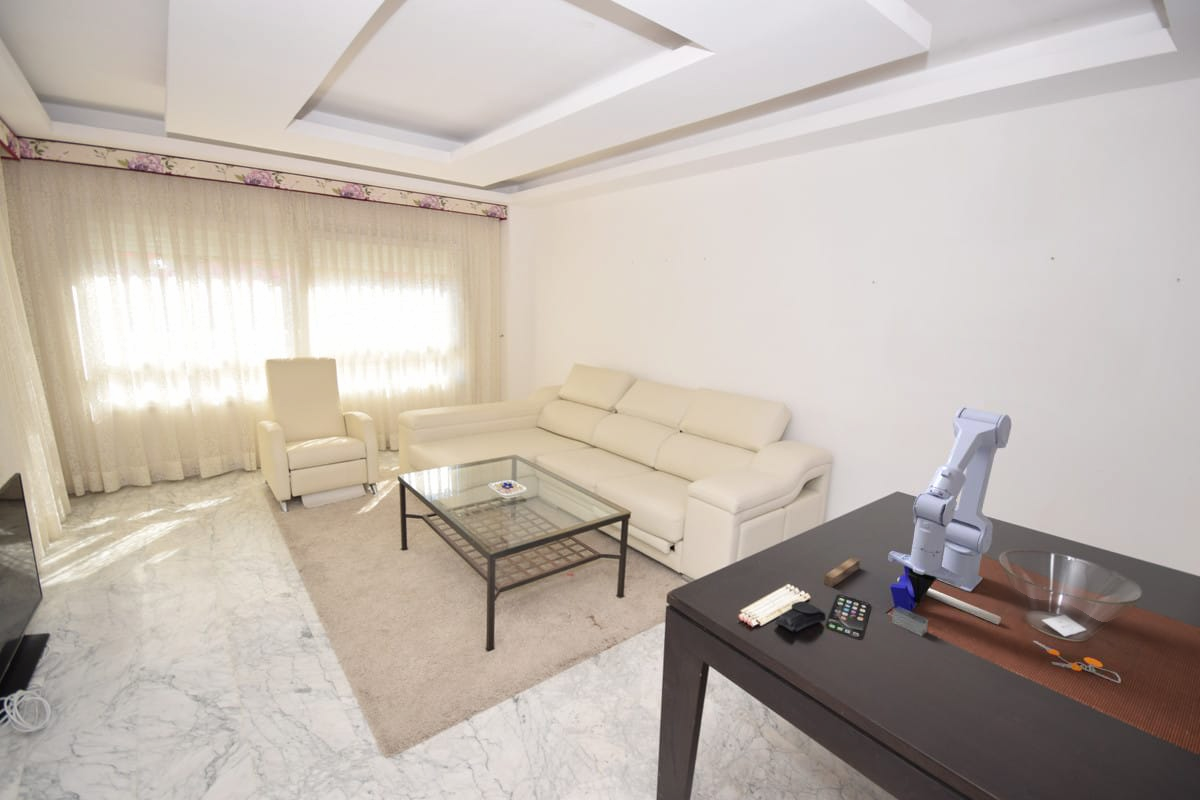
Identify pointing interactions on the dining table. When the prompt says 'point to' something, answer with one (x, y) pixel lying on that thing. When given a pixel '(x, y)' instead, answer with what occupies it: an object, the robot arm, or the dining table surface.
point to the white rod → (963, 606)
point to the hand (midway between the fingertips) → (918, 601)
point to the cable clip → (903, 592)
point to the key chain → (1076, 667)
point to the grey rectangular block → (910, 621)
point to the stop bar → (841, 572)
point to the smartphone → (848, 616)
